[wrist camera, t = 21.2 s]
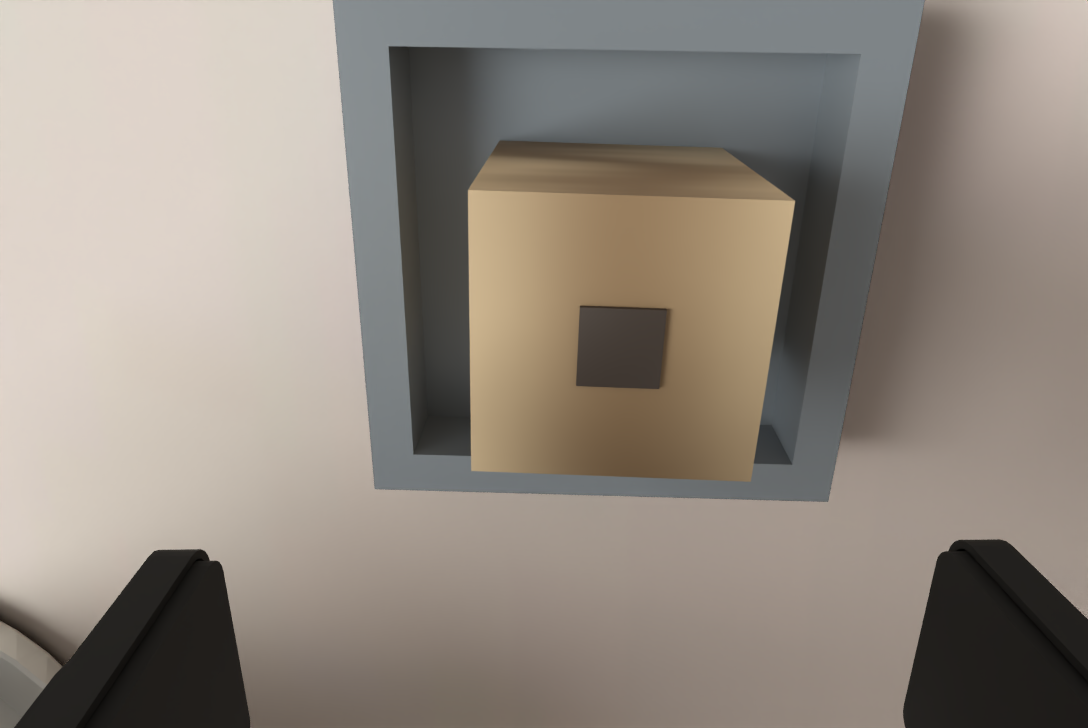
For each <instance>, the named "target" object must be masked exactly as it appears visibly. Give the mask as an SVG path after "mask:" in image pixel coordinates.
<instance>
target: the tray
mask: <svg viewBox="0 0 1088 728" xmlns="http://www.w3.org/2000/svg"><path fill="white" fill-rule="evenodd" d="M924 2H925V0H333V9H334V20H335V32H336V43H337V55H338V67H339V78H340V90H341V102H342V113H343V125H344V136H345V148H346V160H347V171H348V183H349V195H350V206H351V218H352V230H353V241H354V253H355V264H356V276H357V288H358V299H359V311H360V323H361V334H362V346H363V358H364V369H365V381H366V392H367V404H368V416H369V427H370V439H371V451H372V462H373V474H374V486H375V489H389V490H425V491H461V492H496V493H532V494H568V495H603V496H639V497H674V498H710V499H746V500H781V501H817V502H828V500H829V495H830V490H831V484H832V479H833V474H834V469H835V464H836V458H837V453H838V448H839V443H840V438H841V433H842V427H843V422H844V417H845V412H846V407H847V401H848V396H849V391H850V386H851V381H852V375H853V370H854V365H855V360H856V355H857V349H858V344H859V339H860V334H861V329H862V324H863V318H864V313H865V308H866V303H867V298H868V292H869V287H870V282H871V277H872V272H873V266H874V261H875V256H876V251H877V246H878V241H879V235H880V230H881V225H882V220H883V215H884V209H885V204H886V199H887V194H888V189H889V183H890V178H891V173H892V168H893V163H894V158H895V152H896V147H897V142H898V137H899V132H900V126H901V121H902V116H903V111H904V106H905V100H906V95H907V90H908V85H909V80H910V74H911V69H912V64H913V59H914V54H915V49H916V43H917V38H918V33H919V28H920V23H921V17H922V12H923V7H924ZM499 141H529V142H560V143H591V144H622V145H653V146H683V147H714V148H723V149H724V150H726V151H727V152H728V153H730V154H731V155H732V156H734V157H735V158H737V159H738V160H739V161H741V162H742V163H744V164H745V165H746V166H748V167H749V168H750V169H752V170H753V171H755V172H756V173H757V174H759V175H760V176H762V177H763V178H764V179H766V180H767V181H768V182H770V183H771V184H773V185H774V186H775V187H777V188H778V189H780V190H781V191H782V192H784V193H785V194H786V195H788V196H789V197H791V198H792V199H793V200H795V206H794V212H793V219H792V225H791V231H790V237H789V244H788V250H787V256H786V263H785V269H784V275H783V282H782V288H781V294H780V301H779V307H778V313H777V319H776V326H775V332H774V338H773V345H772V351H771V357H770V364H769V370H768V376H767V383H766V389H765V395H764V401H763V408H762V414H761V420H760V427H759V433H758V439H757V446H756V452H755V458H754V465H753V471H752V477H751V482H743V481H718V480H692V479H666V478H640V477H614V476H588V475H563V474H537V473H511V472H485V471H471V410H470V324H469V239H468V189H469V188H470V186H471V184H472V183H473V181H474V180H475V178H476V177H477V175H478V174H479V172H480V170H481V169H482V167H483V166H484V164H485V163H486V161H487V160H488V158H489V156H490V155H491V153H492V152H493V150H494V149H495V147H496V146H497V144H498V142H499Z"/></svg>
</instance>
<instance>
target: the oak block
mask: <svg viewBox="0 0 1088 728" xmlns="http://www.w3.org/2000/svg"><path fill="white" fill-rule="evenodd" d="M794 206H795V200H793V199H792V198H791V197H789V196H788V195H786V194H785V193H784V192H782V191H781V190H780V189H778V188H777V187H775V186H774V185H773V184H771V183H770V182H768V181H767V180H766V179H764V178H763V177H762V176H760V175H759V174H757V173H756V172H755V171H753V170H752V169H750V168H749V167H748V166H746V165H745V164H744V163H742V162H741V161H739V160H738V159H737V158H735V157H734V156H732V155H731V154H730V153H728V152H727V151H726V150H724V149H723V148H714V147H683V146H653V145H622V144H591V143H560V142H529V141H499V142H498V144H497V146H496V147H495V149H494V150H493V152H492V153H491V155H490V156H489V158H488V160H487V161H486V163H485V164H484V166H483V167H482V169H481V170H480V172H479V174H478V175H477V177H476V178H475V180H474V181H473V183H472V184H471V186H470V188H469V189H468V239H469V324H470V410H471V471H485V472H511V473H537V474H563V475H588V476H614V477H640V478H666V479H692V480H718V481H743V482H751V477H752V471H753V465H754V458H755V452H756V446H757V439H758V433H759V427H760V420H761V414H762V408H763V401H764V395H765V389H766V383H767V376H768V370H769V364H770V357H771V351H772V345H773V338H774V332H775V326H776V319H777V313H778V307H779V301H780V294H781V288H782V282H783V275H784V269H785V263H786V256H787V250H788V244H789V237H790V231H791V225H792V219H793V212H794Z"/></svg>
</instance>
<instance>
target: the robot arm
mask: <svg viewBox="0 0 1088 728" xmlns="http://www.w3.org/2000/svg"><path fill="white" fill-rule="evenodd" d="M903 716H904V723H905V728H1088V619H1087V618H1086V617H1085V616H1084V615H1083V614H1082V613H1081V612H1080V611H1079V610H1078V609H1076V608H1075V607H1074V606H1073V605H1072V604H1071V603H1070V602H1069V601H1068V600H1067V599H1066V598H1065V597H1064V596H1063V595H1062V594H1061V593H1060V592H1059V591H1058V590H1057V589H1056V588H1055V587H1054V586H1053V585H1052V584H1051V583H1050V582H1049V581H1048V580H1047V579H1046V578H1045V577H1044V576H1043V575H1042V574H1041V573H1040V572H1039V571H1038V570H1037V569H1036V568H1035V567H1034V566H1032V565H1031V564H1030V563H1029V562H1028V561H1027V560H1026V559H1025V558H1024V557H1023V556H1022V555H1021V554H1020V553H1019V552H1018V551H1017V550H1016V549H1015V548H1014V547H1013V546H1012V545H1011V544H1009V543H1008V542H1006V541H1004V540H958V541H956V542H954V543H953V544H952V545H951V546H950V549H949V551H945V552H942V553H941V554H940V555H939V557H938V559H937V562H936V566H935V571H934V575H933V580H932V584H931V588H930V593H929V597H928V602H927V606H926V610H925V615H924V619H923V624H922V628H921V632H920V637H919V641H918V646H917V650H916V654H915V659H914V663H913V668H912V672H911V676H910V681H909V685H908V690H907V694H906V698H905V703H904V709H903ZM0 728H250V717H249V711H248V706H247V700H246V695H245V689H244V683H243V678H242V672H241V667H240V661H239V656H238V650H237V645H236V639H235V634H234V628H233V622H232V617H231V611H230V606H229V600H228V595H227V589H226V584H225V578H224V572H223V568H222V565H221V564H220V562H218V561H210V560H209V557H208V555H207V554H206V552H205V551H203V550H201V549H198V550H157V551H154V552H153V553H152V554H151V555H150V556H149V557H148V558H147V560H146V561H145V562H144V564H143V565H142V566H141V567H140V569H139V570H138V571H137V573H136V574H135V575H134V577H133V578H132V579H131V581H130V582H129V583H128V584H127V586H126V587H125V588H124V590H123V591H122V592H121V594H120V595H119V596H118V598H117V599H116V600H115V601H114V603H113V604H112V605H111V607H110V608H109V609H108V611H107V612H106V613H105V615H104V616H103V617H102V618H101V620H100V621H99V622H98V624H97V625H96V626H95V628H94V629H93V630H92V631H91V633H90V634H89V635H88V637H87V638H86V639H85V641H84V642H83V643H82V645H81V646H80V647H79V648H78V650H77V651H76V652H75V654H74V655H73V656H72V658H71V659H70V660H69V662H68V663H66V664H65V665H64V666H62V665H61V664H59V663H58V662H57V661H56V660H55V659H54V658H53V657H52V656H51V655H50V654H49V653H48V652H47V651H45V650H44V649H43V648H41V647H40V646H39V645H37V644H36V643H34V642H33V641H32V640H30V639H29V638H27V637H26V636H25V635H23V634H22V633H21V632H19V631H18V630H16V629H14V628H12V627H11V626H9V625H7V624H5V623H3V622H1V621H0Z"/></svg>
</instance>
